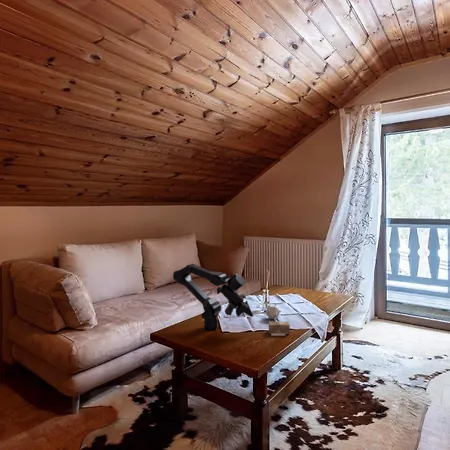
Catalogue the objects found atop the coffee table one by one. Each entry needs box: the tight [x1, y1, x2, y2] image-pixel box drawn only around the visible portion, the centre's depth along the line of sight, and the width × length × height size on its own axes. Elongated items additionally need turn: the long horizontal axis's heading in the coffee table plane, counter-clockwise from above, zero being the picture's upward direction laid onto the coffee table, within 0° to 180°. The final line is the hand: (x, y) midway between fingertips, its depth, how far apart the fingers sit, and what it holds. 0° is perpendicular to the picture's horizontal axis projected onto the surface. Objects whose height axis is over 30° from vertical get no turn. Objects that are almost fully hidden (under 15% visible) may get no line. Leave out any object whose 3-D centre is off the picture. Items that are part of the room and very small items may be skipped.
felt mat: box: [270, 334, 287, 336], centre depth 179 cm, size 7×7×1 cm
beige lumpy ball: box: [265, 303, 282, 321], centre depth 197 cm, size 9×8×10 cm
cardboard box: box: [268, 321, 291, 335], centre depth 178 cm, size 5×4×10 cm
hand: (252, 316), depth 178 cm, fingers closed
